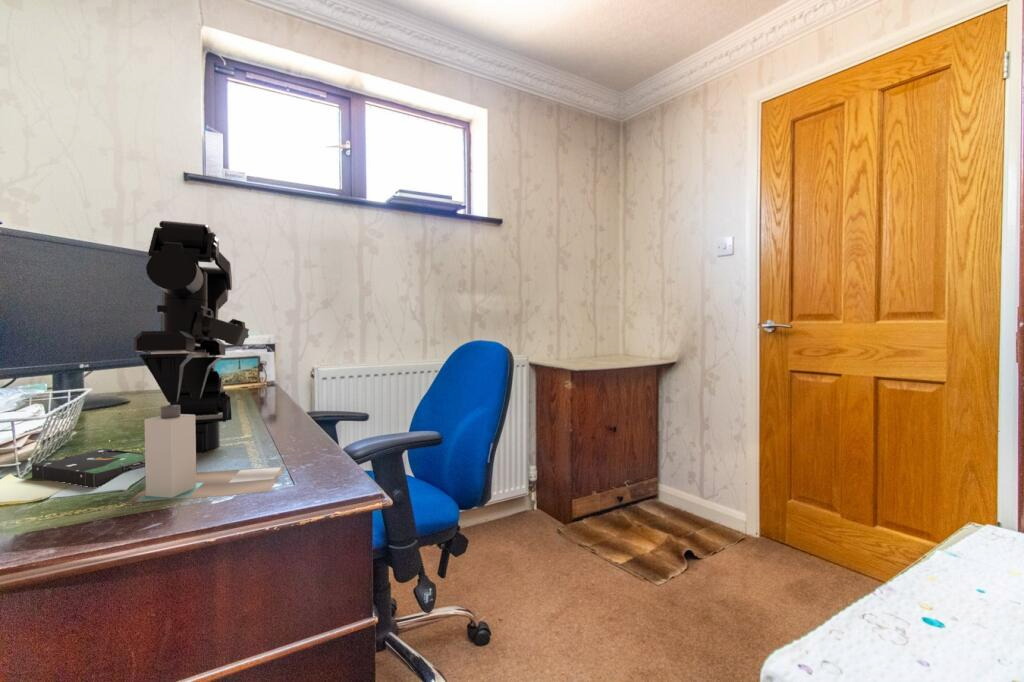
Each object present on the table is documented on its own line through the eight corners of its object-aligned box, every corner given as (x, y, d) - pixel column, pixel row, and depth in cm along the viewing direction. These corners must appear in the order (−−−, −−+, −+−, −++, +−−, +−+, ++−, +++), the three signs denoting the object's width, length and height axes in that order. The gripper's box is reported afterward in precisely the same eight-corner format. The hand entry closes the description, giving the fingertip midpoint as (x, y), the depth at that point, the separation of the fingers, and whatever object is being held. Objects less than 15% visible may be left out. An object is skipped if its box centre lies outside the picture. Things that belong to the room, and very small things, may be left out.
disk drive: (29, 482, 72) (95, 491, 68) (28, 464, 72) (94, 472, 68) (104, 463, 82) (165, 470, 78) (103, 447, 82) (165, 454, 78)
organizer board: (164, 482, 71) (164, 474, 71) (285, 473, 76) (285, 465, 75) (124, 513, 59) (123, 504, 59) (269, 500, 64) (269, 491, 64)
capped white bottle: (171, 485, 66) (170, 403, 65) (196, 487, 65) (195, 404, 65) (145, 495, 62) (144, 408, 61) (172, 497, 61) (170, 409, 61)
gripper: (225, 291, 65) (225, 400, 64) (257, 309, 83) (258, 395, 82) (132, 290, 62) (131, 405, 61) (186, 309, 80) (186, 398, 79)
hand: (185, 400), depth 71 cm, fingers open, 9 cm apart
